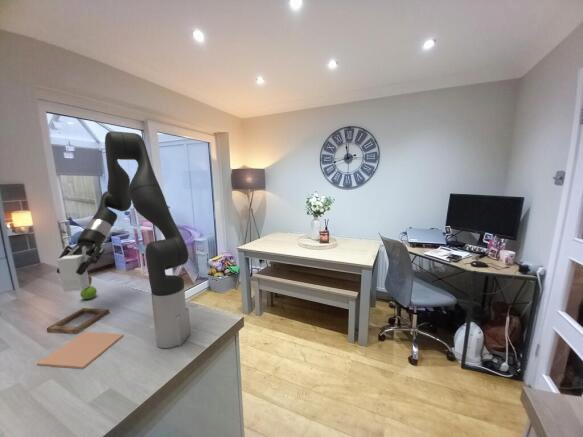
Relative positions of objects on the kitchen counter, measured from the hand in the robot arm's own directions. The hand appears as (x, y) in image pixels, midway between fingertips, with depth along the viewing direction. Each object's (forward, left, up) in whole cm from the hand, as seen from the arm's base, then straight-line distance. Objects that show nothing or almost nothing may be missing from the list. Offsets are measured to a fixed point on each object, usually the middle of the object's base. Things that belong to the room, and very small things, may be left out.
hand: (69, 273), depth 82 cm
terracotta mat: (-15, +12, -19) cm, 27 cm away
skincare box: (0, -2, -7) cm, 7 cm away
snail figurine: (+13, -17, -19) cm, 29 cm away
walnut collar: (0, -1, -19) cm, 19 cm away
